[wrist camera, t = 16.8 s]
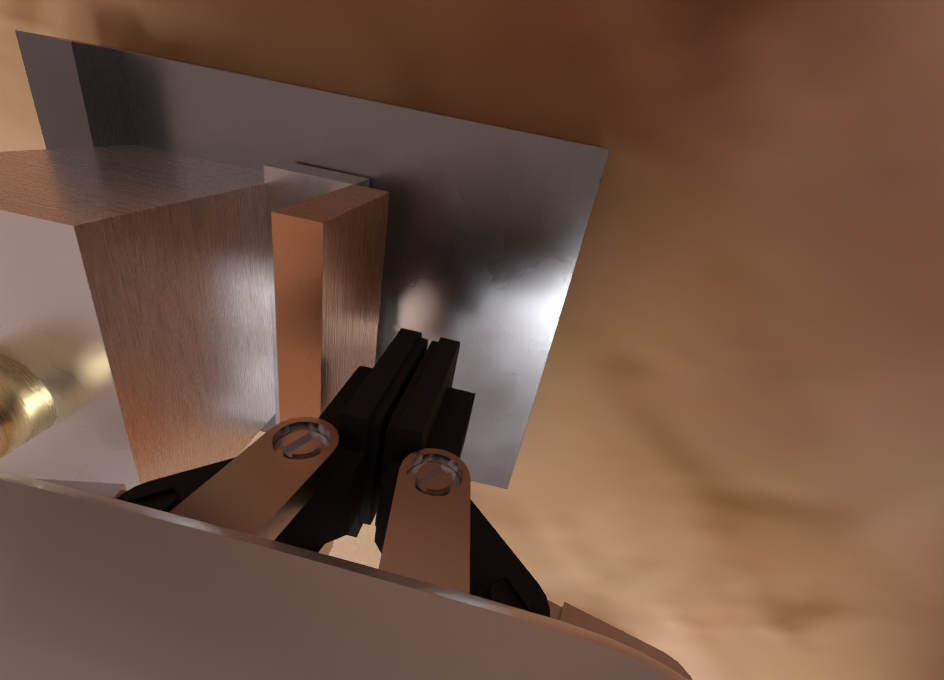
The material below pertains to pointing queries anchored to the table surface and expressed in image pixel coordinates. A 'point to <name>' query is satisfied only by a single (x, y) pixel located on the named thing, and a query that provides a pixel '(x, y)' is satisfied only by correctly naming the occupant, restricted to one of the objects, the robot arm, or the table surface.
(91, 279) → the block
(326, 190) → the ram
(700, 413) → the table surface
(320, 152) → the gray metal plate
